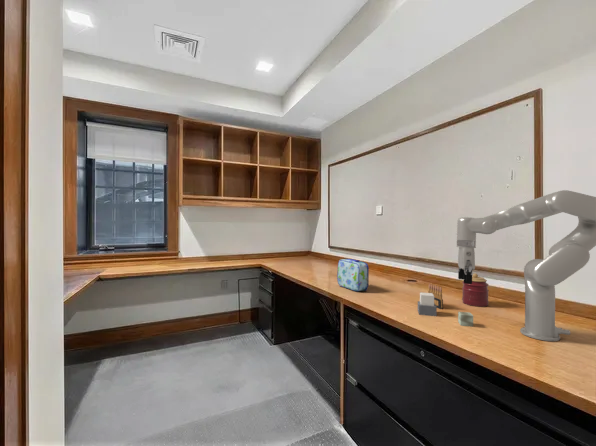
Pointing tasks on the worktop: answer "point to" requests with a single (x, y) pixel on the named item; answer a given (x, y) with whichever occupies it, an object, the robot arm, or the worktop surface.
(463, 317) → the sage block
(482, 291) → the canister
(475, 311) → the worktop surface
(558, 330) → the robot arm
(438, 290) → the ammunition clip
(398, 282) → the worktop surface
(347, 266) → the lunch box
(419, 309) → the tower base
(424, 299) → the tower top
